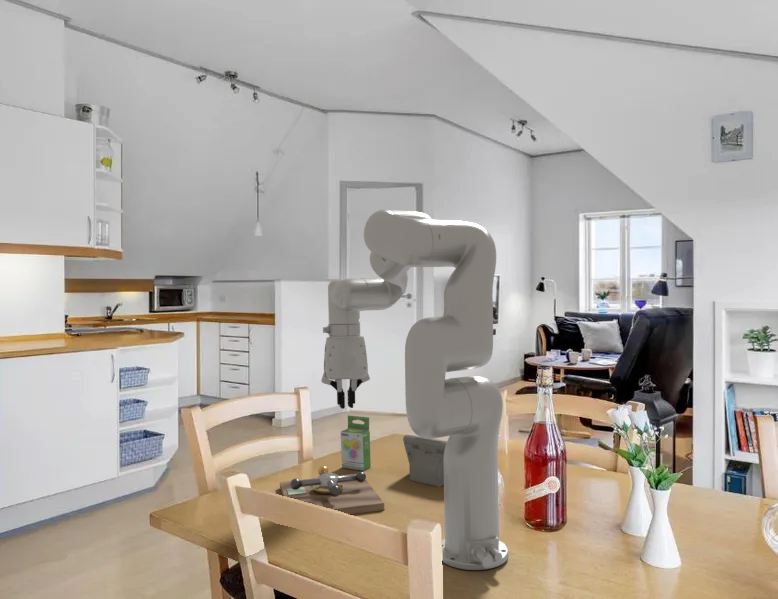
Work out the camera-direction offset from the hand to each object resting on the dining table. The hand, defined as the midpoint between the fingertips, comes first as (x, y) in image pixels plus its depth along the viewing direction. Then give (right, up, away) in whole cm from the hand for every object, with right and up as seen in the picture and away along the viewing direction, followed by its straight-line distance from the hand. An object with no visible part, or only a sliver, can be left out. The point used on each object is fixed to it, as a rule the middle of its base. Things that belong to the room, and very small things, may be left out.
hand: (346, 406), depth 146 cm
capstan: (-3, -18, -9) cm, 20 cm away
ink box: (+2, -19, +15) cm, 24 cm away
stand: (-3, -19, -8) cm, 21 cm away
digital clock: (+21, -19, +4) cm, 29 cm away
